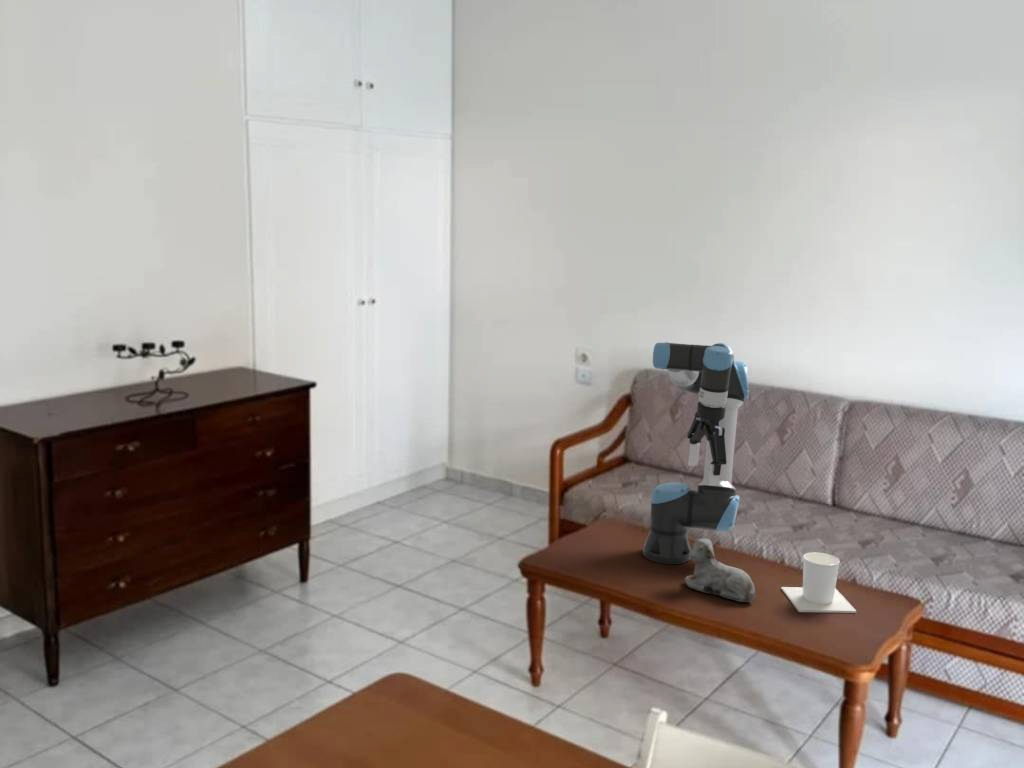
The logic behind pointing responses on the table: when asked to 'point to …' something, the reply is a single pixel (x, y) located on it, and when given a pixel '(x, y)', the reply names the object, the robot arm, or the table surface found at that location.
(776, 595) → the table surface
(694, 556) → the sculpture
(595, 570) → the table surface
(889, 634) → the table surface
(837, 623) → the table surface
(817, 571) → the candle holder
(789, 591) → the tile
